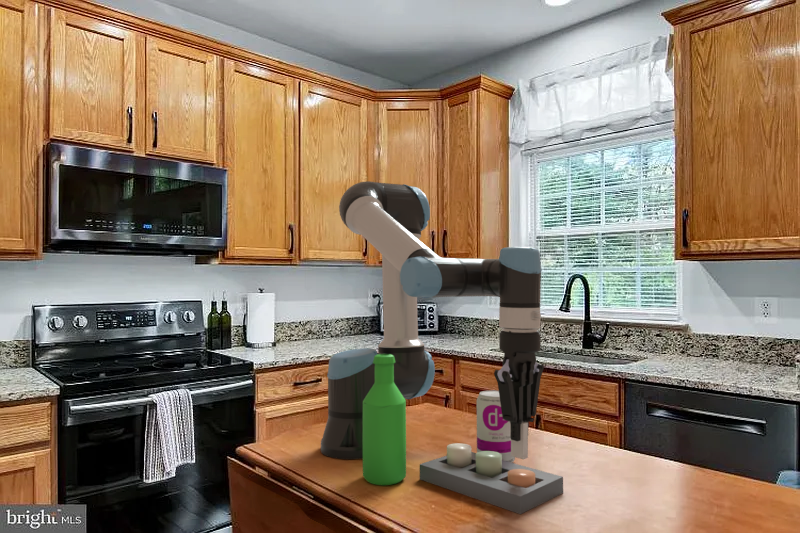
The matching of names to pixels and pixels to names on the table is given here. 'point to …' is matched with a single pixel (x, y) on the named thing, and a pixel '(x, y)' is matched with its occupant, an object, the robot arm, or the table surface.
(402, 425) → the bottle
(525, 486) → the peach button
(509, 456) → the supplement can
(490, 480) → the console
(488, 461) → the sage button
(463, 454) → the ivory button
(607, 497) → the table surface
